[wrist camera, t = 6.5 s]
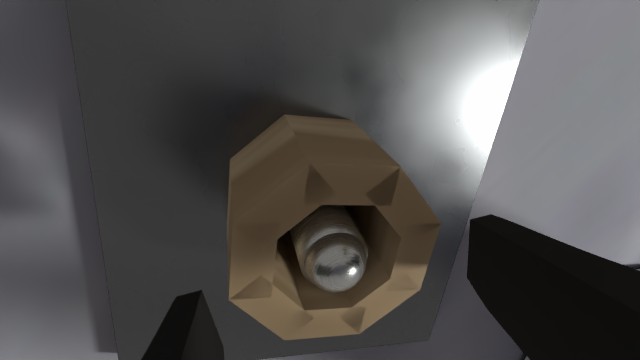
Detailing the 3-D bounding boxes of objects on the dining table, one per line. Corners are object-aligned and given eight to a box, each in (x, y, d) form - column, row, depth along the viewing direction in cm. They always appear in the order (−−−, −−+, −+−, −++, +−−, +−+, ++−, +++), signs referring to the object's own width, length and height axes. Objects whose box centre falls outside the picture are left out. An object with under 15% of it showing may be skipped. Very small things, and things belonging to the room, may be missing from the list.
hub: (419, 324, 20) (481, 428, 15) (126, 354, 16) (86, 503, 11) (523, -16, 13) (693, -24, 8) (66, -95, 9) (-90, -188, 5)
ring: (406, 194, 15) (465, 256, 11) (295, 279, 15) (317, 364, 12) (324, 81, 12) (365, 117, 8) (192, 189, 12) (180, 265, 9)
